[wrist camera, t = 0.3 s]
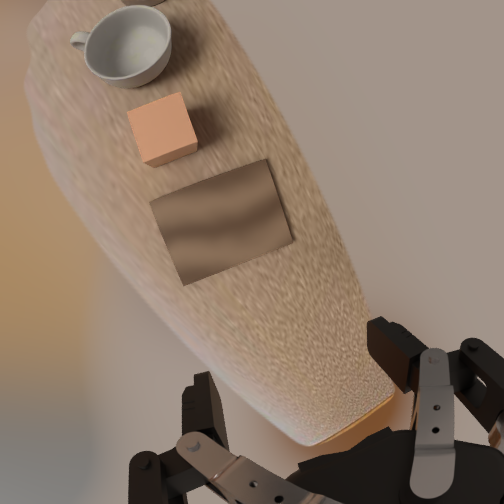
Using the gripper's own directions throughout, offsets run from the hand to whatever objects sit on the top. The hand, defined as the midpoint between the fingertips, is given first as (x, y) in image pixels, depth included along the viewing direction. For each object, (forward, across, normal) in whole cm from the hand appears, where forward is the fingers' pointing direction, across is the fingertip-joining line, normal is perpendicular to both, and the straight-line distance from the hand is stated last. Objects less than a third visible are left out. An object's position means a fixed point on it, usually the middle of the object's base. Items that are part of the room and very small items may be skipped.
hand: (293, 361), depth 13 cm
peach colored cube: (+29, +5, -14) cm, 33 cm away
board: (+28, 0, -2) cm, 28 cm away
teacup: (+30, +8, -28) cm, 42 cm away
